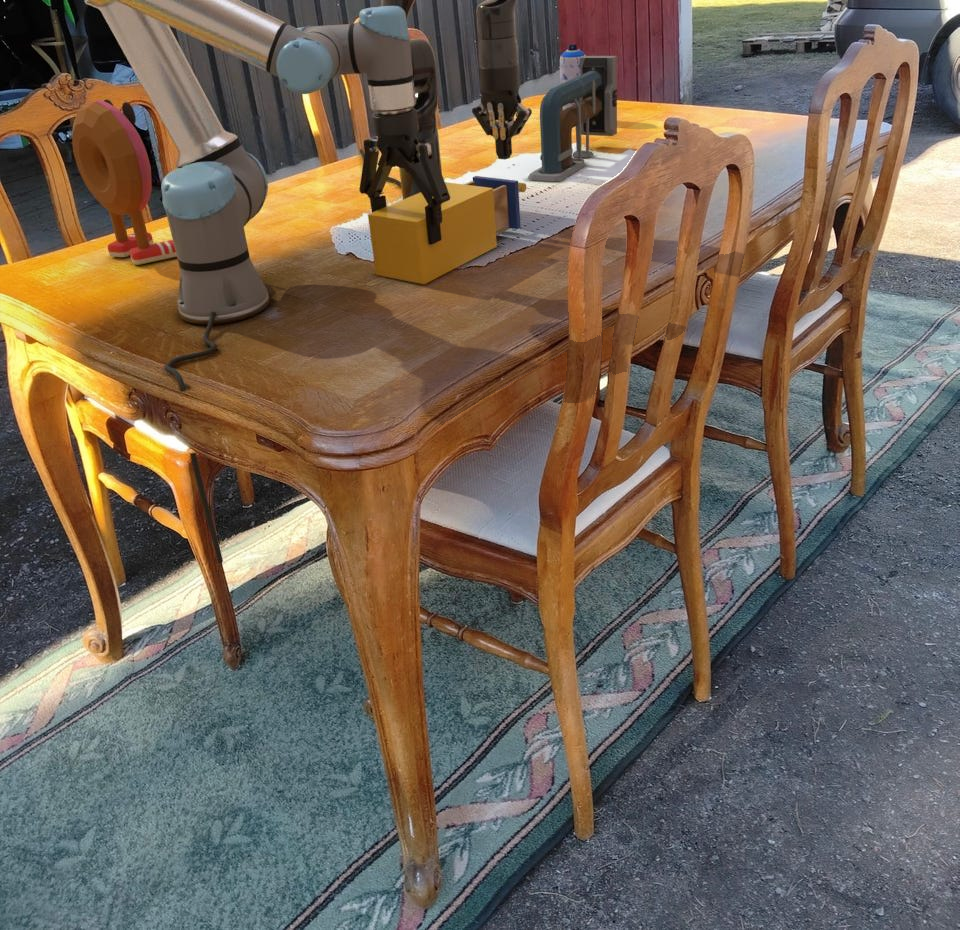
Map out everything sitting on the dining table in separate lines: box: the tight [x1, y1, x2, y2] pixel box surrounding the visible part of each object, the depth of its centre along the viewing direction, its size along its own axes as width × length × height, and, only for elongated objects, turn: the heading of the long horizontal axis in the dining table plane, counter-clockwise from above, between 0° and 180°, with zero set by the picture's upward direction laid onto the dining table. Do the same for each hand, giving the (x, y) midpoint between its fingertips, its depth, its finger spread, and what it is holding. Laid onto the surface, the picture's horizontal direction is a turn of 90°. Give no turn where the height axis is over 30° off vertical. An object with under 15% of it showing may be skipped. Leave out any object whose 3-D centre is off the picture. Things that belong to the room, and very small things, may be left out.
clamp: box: [527, 55, 618, 182], centre depth 230 cm, size 35×9×21 cm, turn 151°
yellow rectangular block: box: [367, 181, 498, 285], centre depth 177 cm, size 22×11×11 cm, turn 143°
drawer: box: [463, 175, 527, 236], centre depth 185 cm, size 27×10×9 cm, turn 143°
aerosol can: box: [559, 43, 587, 110], centre depth 273 cm, size 8×8×20 cm
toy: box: [71, 98, 177, 266], centre depth 188 cm, size 21×10×30 cm, turn 47°
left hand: (408, 237), depth 172 cm, fingers closed on yellow rectangular block, 11 cm apart
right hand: (504, 158), depth 188 cm, fingers closed
